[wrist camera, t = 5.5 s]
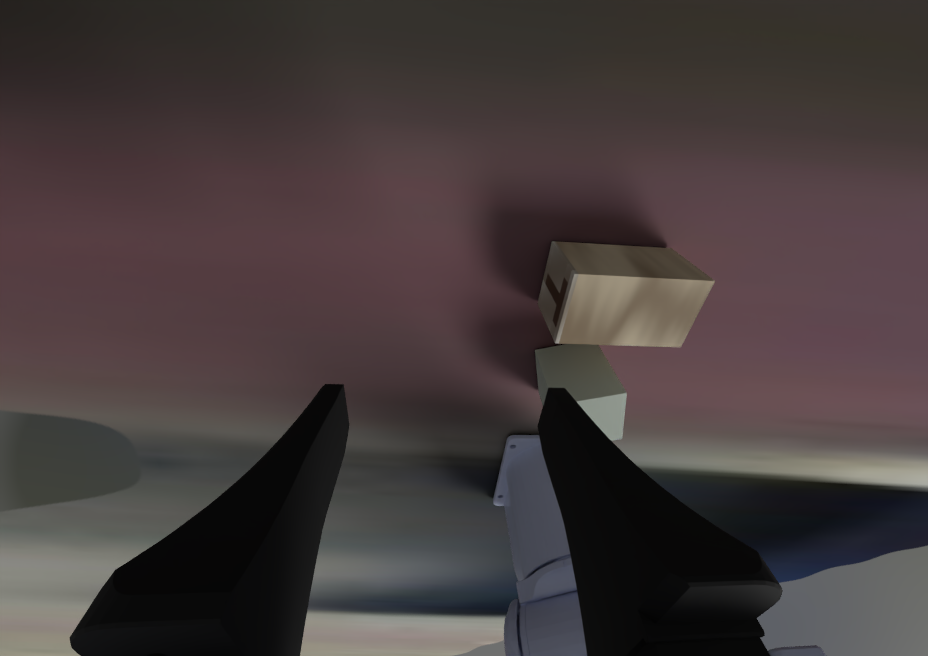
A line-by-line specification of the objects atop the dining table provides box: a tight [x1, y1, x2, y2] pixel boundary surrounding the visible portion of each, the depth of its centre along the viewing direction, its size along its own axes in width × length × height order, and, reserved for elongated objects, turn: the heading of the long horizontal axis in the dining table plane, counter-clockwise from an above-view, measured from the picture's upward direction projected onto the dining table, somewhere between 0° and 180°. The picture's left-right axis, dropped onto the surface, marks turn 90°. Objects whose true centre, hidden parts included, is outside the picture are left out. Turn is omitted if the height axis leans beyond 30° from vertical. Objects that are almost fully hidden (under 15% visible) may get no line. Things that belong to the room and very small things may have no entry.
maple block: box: [538, 241, 715, 347], centre depth 20 cm, size 4×4×7 cm
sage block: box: [535, 344, 627, 441], centre depth 24 cm, size 4×4×5 cm
